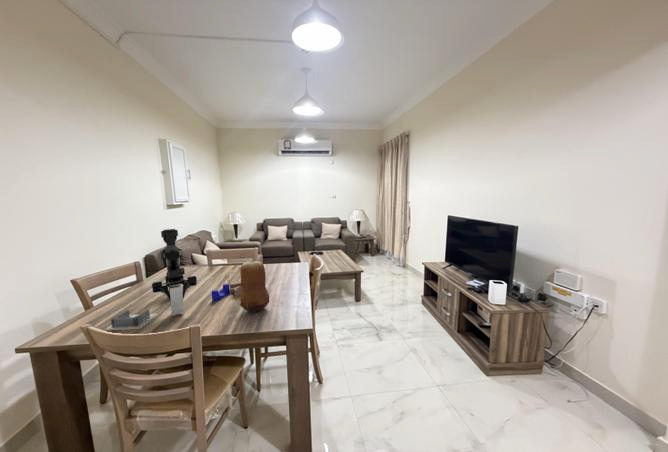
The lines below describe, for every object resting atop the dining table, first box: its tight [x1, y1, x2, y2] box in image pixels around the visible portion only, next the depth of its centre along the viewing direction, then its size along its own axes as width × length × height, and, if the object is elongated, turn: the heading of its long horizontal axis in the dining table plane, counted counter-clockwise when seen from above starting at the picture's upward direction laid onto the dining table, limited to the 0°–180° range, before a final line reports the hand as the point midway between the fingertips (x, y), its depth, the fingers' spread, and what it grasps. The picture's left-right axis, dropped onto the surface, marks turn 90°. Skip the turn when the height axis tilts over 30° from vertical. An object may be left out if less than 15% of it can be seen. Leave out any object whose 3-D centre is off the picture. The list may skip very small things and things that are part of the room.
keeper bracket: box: [105, 309, 159, 331], centre depth 120 cm, size 13×14×4 cm
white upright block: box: [170, 284, 185, 316], centre depth 127 cm, size 5×5×13 cm
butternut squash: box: [239, 260, 270, 313], centre depth 129 cm, size 14×13×25 cm
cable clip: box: [211, 283, 231, 303], centre depth 149 cm, size 12×4×6 cm, turn 170°
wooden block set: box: [229, 280, 242, 299], centre depth 159 cm, size 17×6×18 cm
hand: (176, 299), depth 126 cm, fingers closed on white upright block, 5 cm apart
